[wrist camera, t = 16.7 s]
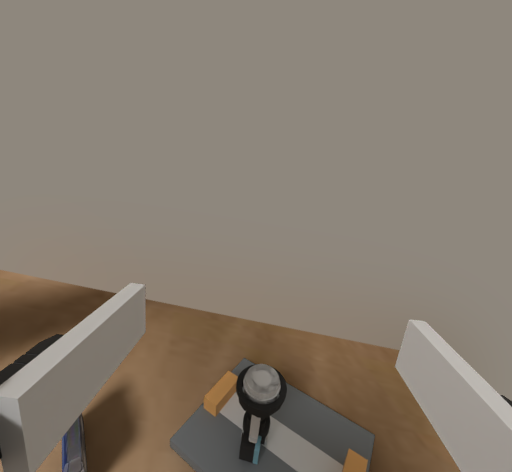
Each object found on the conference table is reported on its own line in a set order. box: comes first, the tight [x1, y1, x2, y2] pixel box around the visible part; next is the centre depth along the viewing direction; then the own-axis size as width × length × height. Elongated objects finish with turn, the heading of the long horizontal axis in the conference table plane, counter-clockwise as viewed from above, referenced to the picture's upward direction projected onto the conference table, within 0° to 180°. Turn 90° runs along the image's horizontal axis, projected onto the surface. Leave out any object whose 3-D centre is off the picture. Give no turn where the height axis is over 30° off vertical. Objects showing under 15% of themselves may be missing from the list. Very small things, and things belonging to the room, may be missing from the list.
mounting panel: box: [170, 358, 375, 472], centre depth 30 cm, size 20×15×3 cm
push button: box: [236, 364, 287, 464], centre depth 29 cm, size 7×5×10 cm
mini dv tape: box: [62, 413, 87, 472], centre depth 27 cm, size 8×2×6 cm, turn 35°
